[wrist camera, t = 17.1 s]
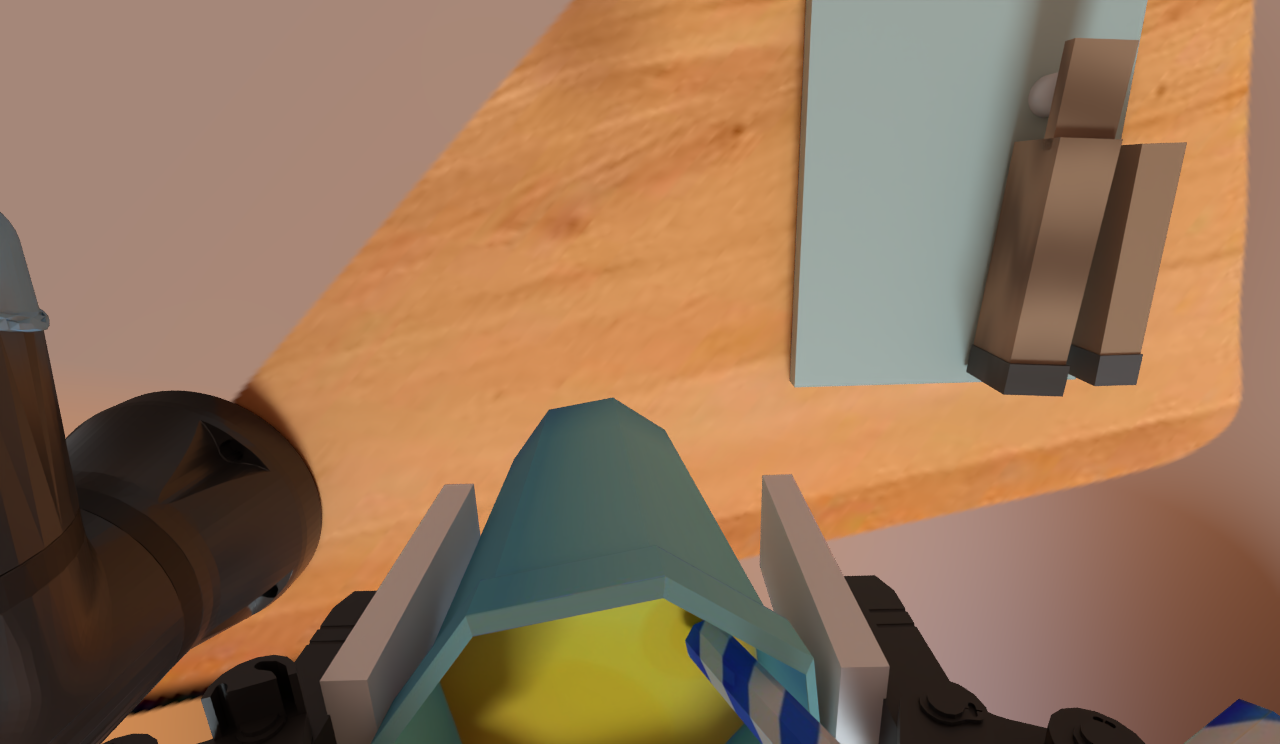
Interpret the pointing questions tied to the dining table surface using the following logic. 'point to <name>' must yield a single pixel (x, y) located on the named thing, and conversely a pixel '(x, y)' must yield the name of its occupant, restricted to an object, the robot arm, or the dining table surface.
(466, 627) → the cup
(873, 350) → the stool seat
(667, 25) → the dining table surface
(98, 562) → the robot arm
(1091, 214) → the leg
